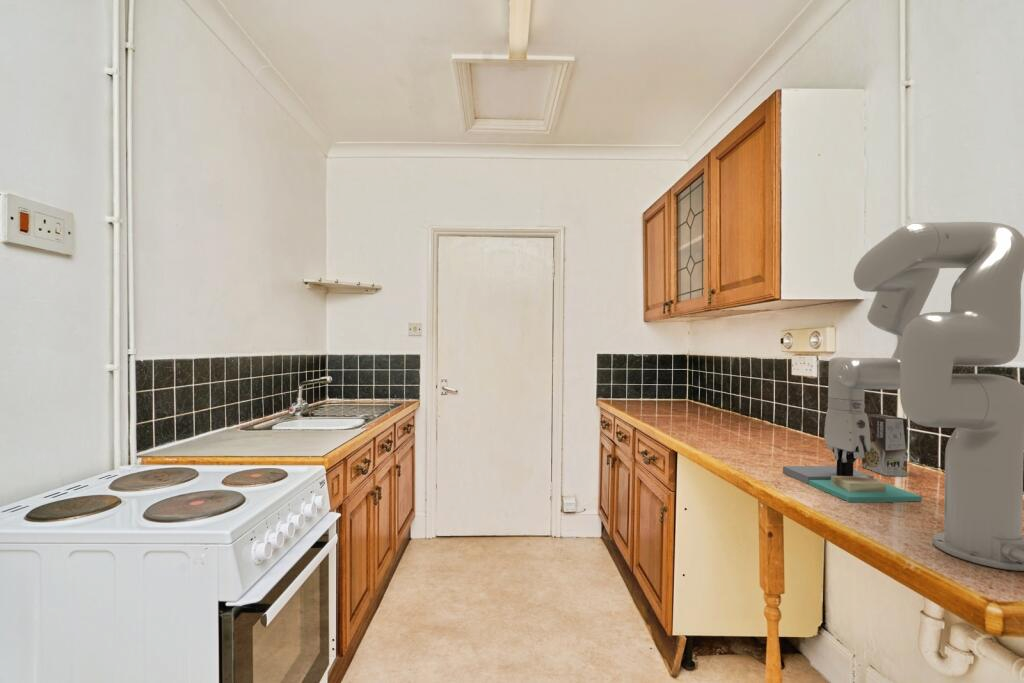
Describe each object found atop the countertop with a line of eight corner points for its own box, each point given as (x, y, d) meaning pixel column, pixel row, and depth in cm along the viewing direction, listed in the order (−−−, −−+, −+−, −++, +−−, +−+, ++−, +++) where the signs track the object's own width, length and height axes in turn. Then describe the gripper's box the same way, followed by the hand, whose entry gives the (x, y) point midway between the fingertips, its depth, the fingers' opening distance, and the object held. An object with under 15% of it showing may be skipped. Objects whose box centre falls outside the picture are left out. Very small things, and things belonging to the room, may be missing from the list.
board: (873, 483, 119) (873, 476, 119) (807, 484, 118) (807, 476, 118) (843, 472, 129) (843, 465, 129) (782, 473, 128) (782, 466, 128)
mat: (921, 501, 106) (921, 496, 106) (848, 502, 105) (848, 497, 105) (874, 484, 119) (874, 479, 119) (808, 484, 118) (808, 480, 118)
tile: (885, 491, 109) (885, 483, 109) (849, 491, 109) (849, 483, 109) (865, 483, 115) (865, 475, 115) (831, 483, 115) (831, 476, 115)
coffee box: (908, 476, 126) (909, 418, 126) (885, 476, 126) (885, 418, 126) (882, 467, 135) (882, 413, 135) (860, 467, 135) (861, 413, 135)
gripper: (885, 410, 109) (884, 486, 109) (837, 401, 124) (836, 468, 124) (855, 410, 108) (854, 486, 108) (810, 401, 123) (809, 468, 123)
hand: (844, 476), depth 116 cm, fingers closed
